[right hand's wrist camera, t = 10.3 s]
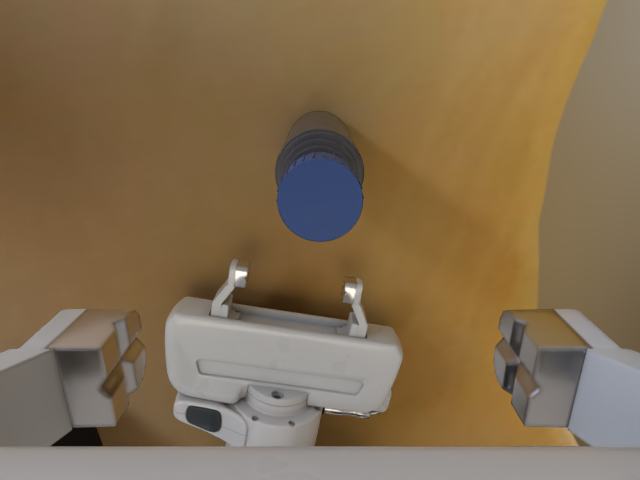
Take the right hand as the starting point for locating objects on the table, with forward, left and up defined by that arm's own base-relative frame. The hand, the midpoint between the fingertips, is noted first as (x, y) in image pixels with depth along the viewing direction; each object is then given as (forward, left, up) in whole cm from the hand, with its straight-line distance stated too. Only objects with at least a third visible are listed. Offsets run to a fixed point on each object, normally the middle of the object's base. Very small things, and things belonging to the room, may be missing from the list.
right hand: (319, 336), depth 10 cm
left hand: (+6, -8, -25) cm, 27 cm away
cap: (0, 0, -12) cm, 12 cm away
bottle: (0, 0, -30) cm, 30 cm away
